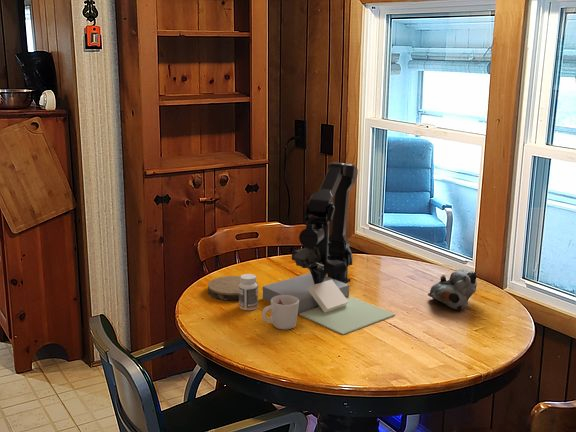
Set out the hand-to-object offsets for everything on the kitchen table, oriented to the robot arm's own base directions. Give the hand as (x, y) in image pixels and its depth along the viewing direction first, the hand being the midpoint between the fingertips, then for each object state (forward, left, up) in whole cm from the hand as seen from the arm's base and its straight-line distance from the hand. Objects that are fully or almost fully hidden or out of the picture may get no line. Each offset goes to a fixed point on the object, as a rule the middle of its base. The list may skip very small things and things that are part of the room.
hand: (317, 287), depth 213 cm
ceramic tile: (0, +5, -2) cm, 5 cm away
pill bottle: (+19, -10, -5) cm, 22 cm away
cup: (+21, +7, -5) cm, 23 cm away
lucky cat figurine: (-31, +27, -5) cm, 41 cm away
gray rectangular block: (0, -5, -5) cm, 7 cm away
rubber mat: (0, +13, -5) cm, 14 cm away
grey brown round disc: (+15, -23, -5) cm, 28 cm away
